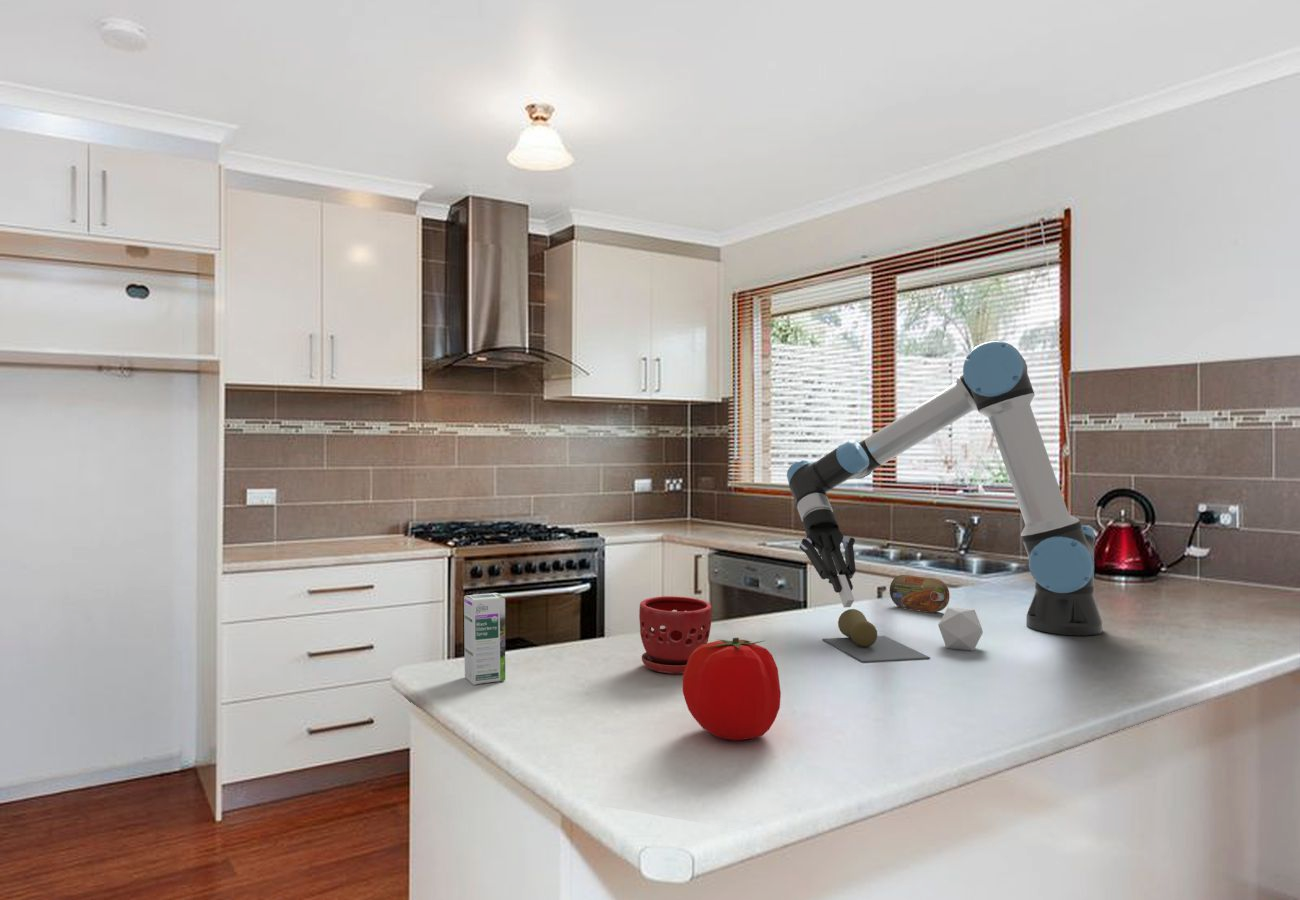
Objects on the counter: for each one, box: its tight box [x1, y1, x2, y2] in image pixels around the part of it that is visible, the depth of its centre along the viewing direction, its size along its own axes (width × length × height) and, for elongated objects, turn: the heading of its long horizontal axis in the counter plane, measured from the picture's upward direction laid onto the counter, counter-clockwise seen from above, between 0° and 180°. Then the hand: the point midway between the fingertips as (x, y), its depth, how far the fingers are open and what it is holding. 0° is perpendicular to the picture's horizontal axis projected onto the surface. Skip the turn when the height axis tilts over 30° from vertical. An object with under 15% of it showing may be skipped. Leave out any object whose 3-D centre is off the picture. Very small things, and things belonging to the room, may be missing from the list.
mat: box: [822, 635, 931, 663], centre depth 168 cm, size 18×14×1 cm
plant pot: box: [638, 595, 713, 675], centre depth 153 cm, size 13×13×12 cm
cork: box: [837, 608, 878, 647], centre depth 172 cm, size 6×6×11 cm
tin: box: [889, 574, 950, 614], centre depth 207 cm, size 15×3×8 cm, turn 43°
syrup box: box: [463, 592, 506, 686], centre depth 145 cm, size 6×6×14 cm
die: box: [937, 606, 983, 652], centre depth 169 cm, size 8×9×10 cm
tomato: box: [682, 637, 782, 741], centre depth 119 cm, size 16×14×14 cm
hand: (849, 603), depth 178 cm, fingers closed
